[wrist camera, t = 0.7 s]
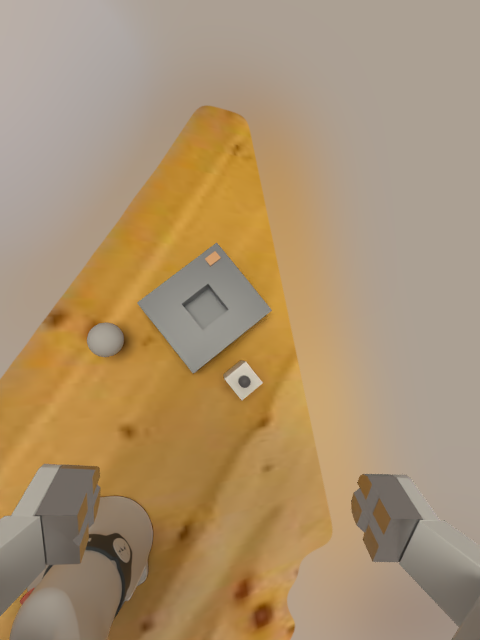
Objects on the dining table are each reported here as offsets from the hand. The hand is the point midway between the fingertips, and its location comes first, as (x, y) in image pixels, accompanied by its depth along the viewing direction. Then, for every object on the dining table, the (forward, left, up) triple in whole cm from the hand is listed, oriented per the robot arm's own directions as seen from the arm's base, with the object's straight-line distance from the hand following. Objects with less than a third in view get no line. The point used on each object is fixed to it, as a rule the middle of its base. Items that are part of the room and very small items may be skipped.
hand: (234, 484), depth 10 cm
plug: (+3, -2, -55) cm, 55 cm away
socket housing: (+6, +12, -55) cm, 57 cm away
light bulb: (-11, +17, -55) cm, 59 cm away
